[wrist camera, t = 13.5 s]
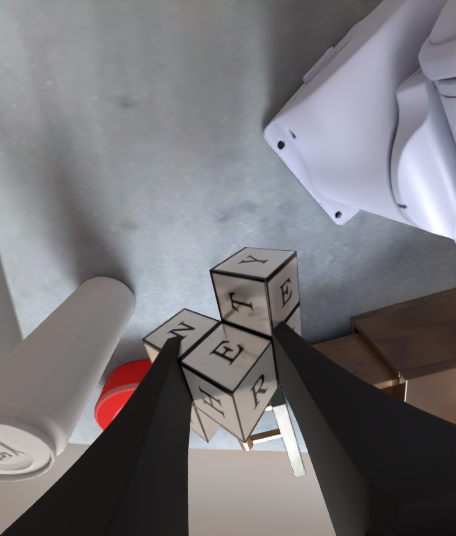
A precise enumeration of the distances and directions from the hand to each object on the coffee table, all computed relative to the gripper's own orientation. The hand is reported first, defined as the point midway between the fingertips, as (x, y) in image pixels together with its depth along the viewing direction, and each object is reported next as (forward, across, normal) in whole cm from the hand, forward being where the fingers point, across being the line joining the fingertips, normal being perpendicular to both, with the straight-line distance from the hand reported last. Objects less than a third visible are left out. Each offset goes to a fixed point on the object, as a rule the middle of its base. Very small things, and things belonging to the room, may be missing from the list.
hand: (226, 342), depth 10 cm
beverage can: (+10, +10, +1) cm, 14 cm away
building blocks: (0, 0, +5) cm, 5 cm away
